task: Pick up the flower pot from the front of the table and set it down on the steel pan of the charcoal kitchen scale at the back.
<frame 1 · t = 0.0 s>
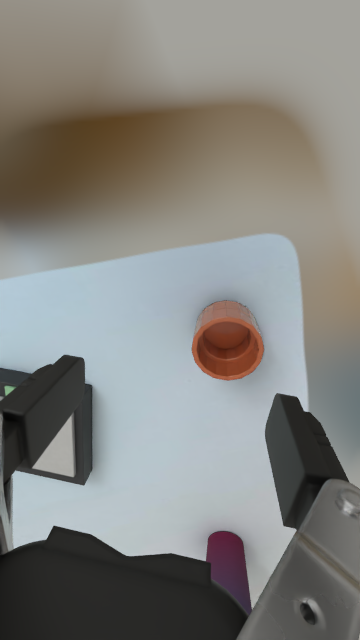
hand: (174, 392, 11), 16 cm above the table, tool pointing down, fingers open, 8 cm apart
scale: (47, 421, 35), on the table
cup: (225, 541, 39), on the table
flower pot: (225, 327, 27), on the table
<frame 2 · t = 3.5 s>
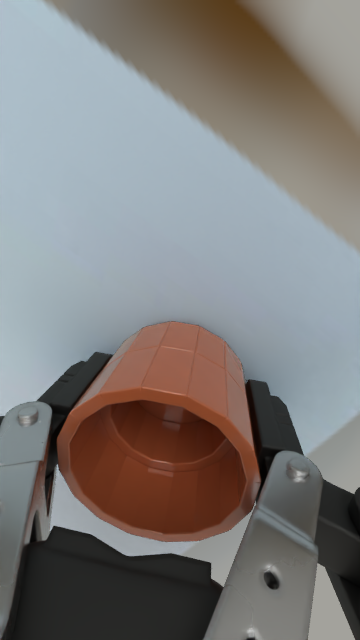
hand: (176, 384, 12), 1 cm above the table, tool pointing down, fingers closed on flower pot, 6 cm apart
flower pot: (178, 377, 12), on the table, touching gripper
when the fingers open (4 cm above the table, at t = 10.9 s): flower pot stays where it is, resting on scale.
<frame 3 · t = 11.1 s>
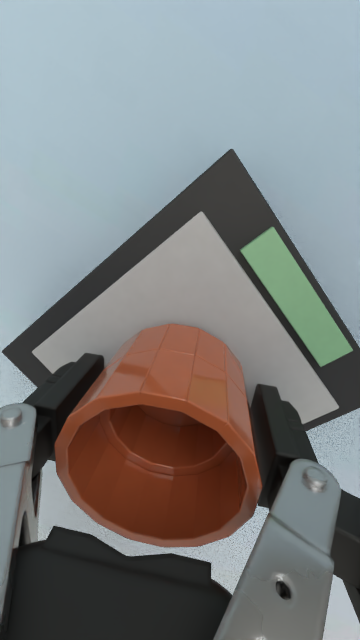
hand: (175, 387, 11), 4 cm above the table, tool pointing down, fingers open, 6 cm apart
scale: (185, 348, 15), on the table
flower pot: (178, 379, 12), point 3 cm above the table, touching scale
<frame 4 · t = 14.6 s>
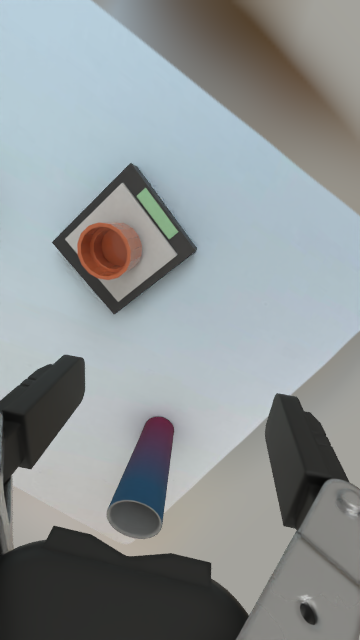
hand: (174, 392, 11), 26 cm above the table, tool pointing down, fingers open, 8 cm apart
scale: (127, 244, 35), on the table
cup: (159, 427, 46), on the table
flower pot: (120, 247, 33), point 3 cm above the table, touching scale
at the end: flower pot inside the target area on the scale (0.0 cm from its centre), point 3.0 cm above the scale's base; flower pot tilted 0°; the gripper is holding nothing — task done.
